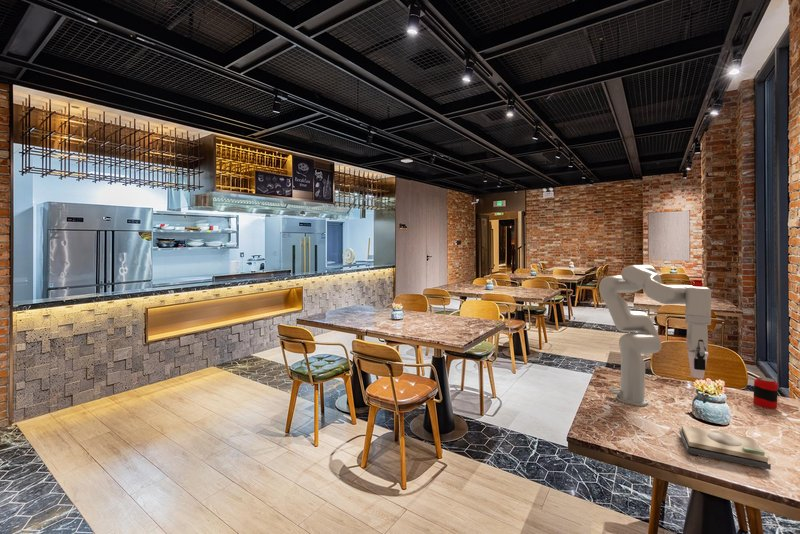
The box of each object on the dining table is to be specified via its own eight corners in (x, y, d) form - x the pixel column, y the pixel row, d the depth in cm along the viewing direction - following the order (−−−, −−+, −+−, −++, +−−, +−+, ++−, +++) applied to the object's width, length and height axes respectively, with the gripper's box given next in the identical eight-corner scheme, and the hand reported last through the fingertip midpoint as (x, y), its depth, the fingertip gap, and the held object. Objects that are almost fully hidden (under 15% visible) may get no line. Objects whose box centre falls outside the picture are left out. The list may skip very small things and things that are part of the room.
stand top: (689, 445, 127) (689, 439, 127) (681, 428, 139) (681, 422, 139) (768, 462, 117) (768, 455, 117) (752, 442, 129) (752, 435, 129)
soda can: (751, 400, 172) (752, 375, 171) (773, 404, 168) (774, 378, 167) (756, 406, 165) (757, 380, 164) (779, 410, 161) (780, 383, 161)
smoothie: (712, 380, 136) (712, 342, 136) (692, 379, 137) (693, 341, 137) (701, 374, 142) (702, 338, 142) (683, 373, 143) (683, 337, 143)
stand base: (687, 455, 127) (687, 447, 127) (679, 435, 140) (679, 428, 140) (770, 472, 117) (770, 464, 117) (753, 450, 130) (753, 442, 130)
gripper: (681, 315, 149) (680, 360, 149) (690, 322, 133) (689, 372, 134) (705, 317, 145) (704, 362, 145) (717, 324, 130) (716, 374, 130)
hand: (697, 366), depth 140 cm, fingers closed on smoothie, 6 cm apart
